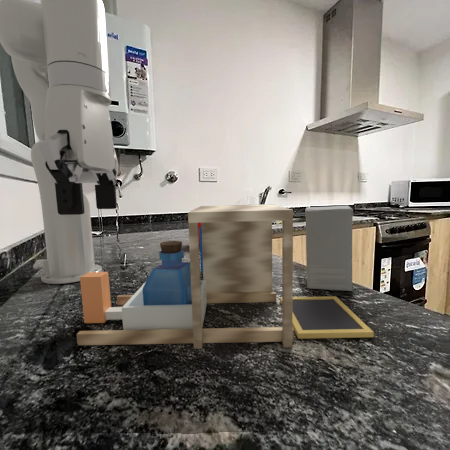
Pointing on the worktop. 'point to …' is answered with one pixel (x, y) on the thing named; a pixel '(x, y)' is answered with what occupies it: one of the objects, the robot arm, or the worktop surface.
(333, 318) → the yellow framed grey pad
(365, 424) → the worktop surface
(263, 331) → the track
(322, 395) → the worktop surface
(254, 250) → the tunnel
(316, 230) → the skincare box
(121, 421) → the worktop surface
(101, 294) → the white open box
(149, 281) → the perfume bottle
